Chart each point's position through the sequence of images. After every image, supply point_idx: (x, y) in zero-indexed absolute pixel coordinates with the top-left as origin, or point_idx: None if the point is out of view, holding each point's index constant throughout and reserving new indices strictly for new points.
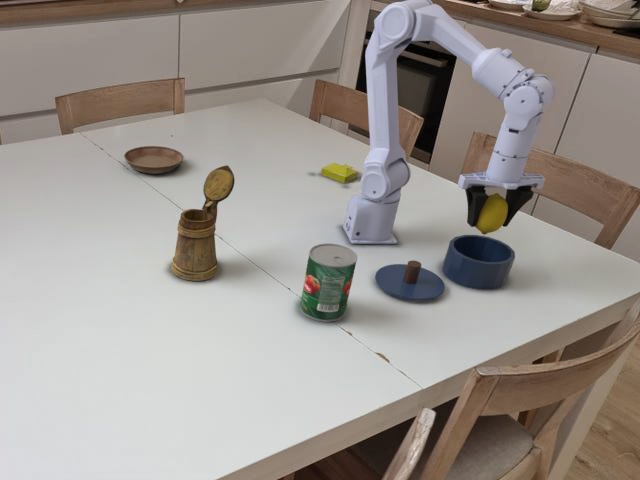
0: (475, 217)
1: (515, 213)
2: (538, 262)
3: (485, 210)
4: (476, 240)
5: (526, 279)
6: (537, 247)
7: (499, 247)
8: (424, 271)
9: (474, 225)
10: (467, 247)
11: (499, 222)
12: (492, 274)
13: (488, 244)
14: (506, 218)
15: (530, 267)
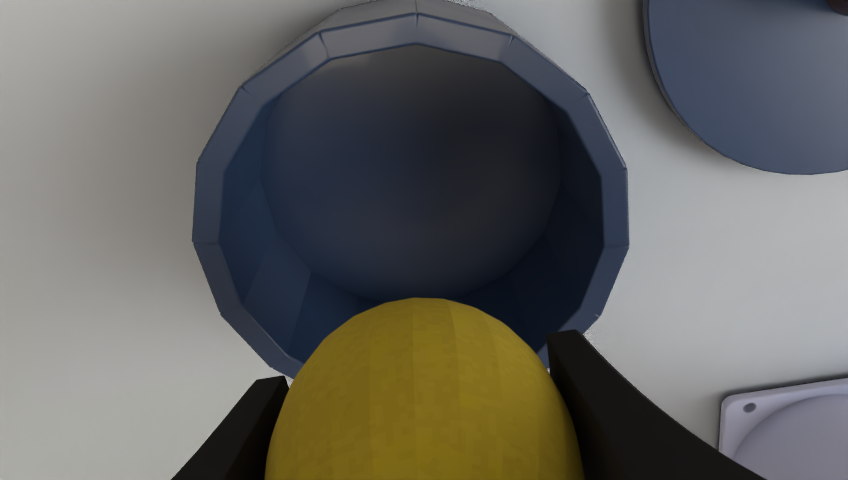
0: (610, 378)
1: (180, 474)
2: (58, 345)
3: (546, 449)
4: None
5: (127, 168)
6: (58, 468)
7: (275, 317)
8: (721, 108)
9: (557, 338)
10: None
11: (358, 341)
12: (364, 11)
13: None
14: (267, 435)
15: (99, 293)
